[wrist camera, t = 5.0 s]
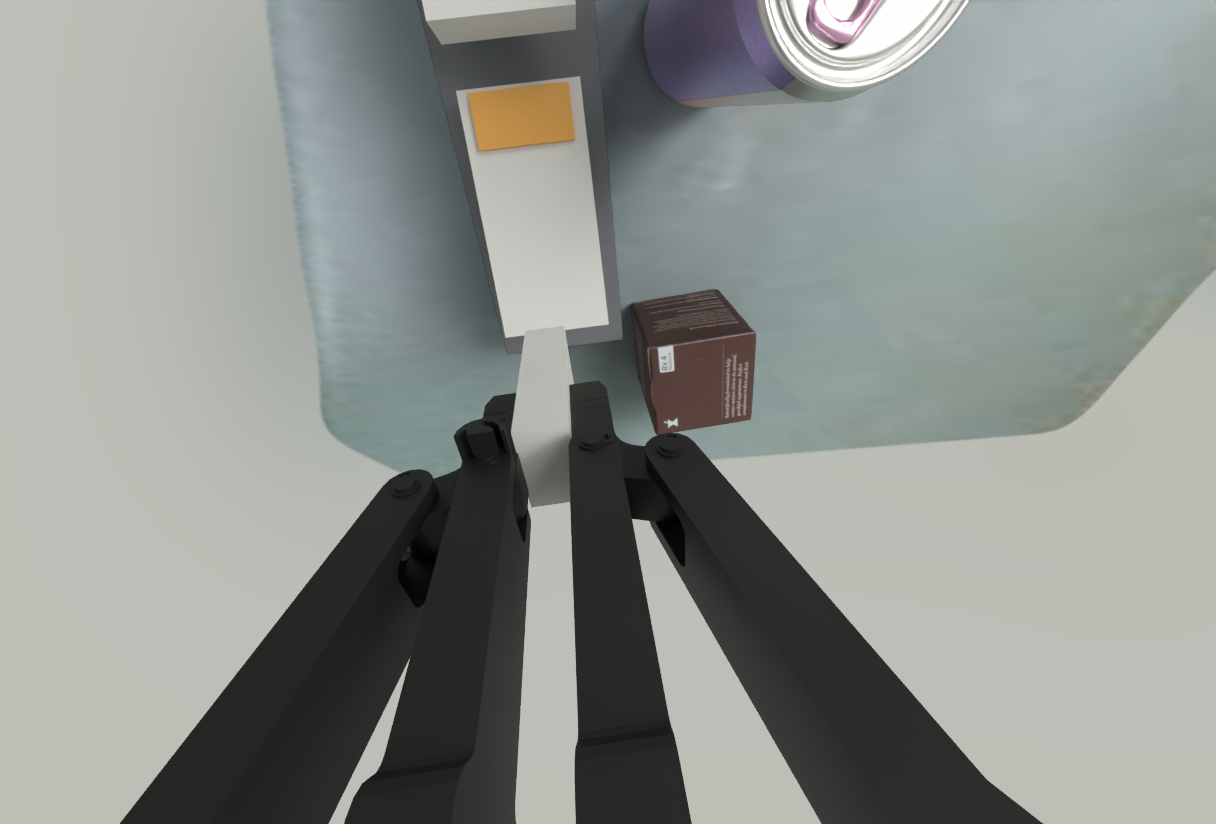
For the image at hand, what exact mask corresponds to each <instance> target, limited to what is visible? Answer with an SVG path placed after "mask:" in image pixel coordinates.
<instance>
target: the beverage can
mask: <svg viewBox="0 0 1216 824" xmlns="http://www.w3.org/2000/svg"><path fill="white" fill-rule="evenodd" d="M969 1H970V0H650V1H649V4H648V7H647V11H646V16H645V23H644V48H645V54H646V59H647V63H648V66H649V69H650V71H651V74H652V76H653V78H654V80H655V81H656V83H657V84H658V86H659V87H660V88H661V90H662V91H663V92H664V93H665V94H666V95H667V96H668V97H670V98H671V99H672V100H674V101H676V102H678V103H680V104H682V105H685V106H689V107H719V106H743V105H766V104H789V103H813V102H830V101H837V100H842V99H845V98H849V97H852V96H854V95H857V94H859V93H862V92H864V91H866V90H868V89H870V88H871V87H874V86H877V85H879V84H882V83H884V82H886V81H888V80H890V79H892V78H894V77H896V76H897V75H899V74H901V73H902V72H904V71H905V70H907V69H908V68H910V67H911V66H912V65H914V64H915V63H916V62H918V61H919V60H920V59H921V58H922V57H923V56H925V55H926V54H927V53H928V52H929V51H930V50H931V49H932V48H933V47H934V46H935V45H936V44H937V43H938V42H939V41H940V40H941V39H942V38H943V36H944V35H945V34H946V33H947V32H948V31H949V29H950V28H951V27H952V26H953V24H954V23H955V22H956V20H957V19H958V18H959V16H960V15H961V13H962V12H963V11H964V9H965V8H966V6H967V5H968V3H969Z"/></svg>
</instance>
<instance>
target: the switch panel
mask: <svg viewBox="0 0 1216 824" xmlns="http://www.w3.org/2000/svg"><path fill="white" fill-rule="evenodd" d="M417 2H418V6H419V10H420V14H421V18H422V22H423V25H424V29H425V33H426V37H427V41H428V45H429V49H430V53H431V57H432V61H433V65H434V69H435V73H436V77H437V81H438V85H439V88H440V92H441V96H442V100H443V104H444V108H445V112H446V116H447V120H448V124H449V128H450V132H451V136H452V140H453V144H454V147H455V151H456V155H457V159H458V163H459V167H460V171H461V175H462V179H463V183H464V187H465V191H466V195H467V199H468V203H469V206H470V210H471V214H472V218H473V222H474V226H475V230H476V234H477V238H478V242H479V246H480V250H481V254H482V258H483V262H484V265H485V269H486V273H487V277H488V281H489V285H490V289H491V293H492V297H493V301H494V305H495V309H496V313H497V317H498V321H499V324H500V328H501V332H502V336H503V340H504V344H505V348H506V352H507V354H514V353H522V350H523V343H524V336H525V335H523V336H516V337H508V338H505V333H504V328H503V323H502V318H501V313H500V308H499V303H498V298H497V293H496V288H495V283H494V278H493V273H492V268H491V263H490V258H489V253H488V248H487V243H486V238H485V233H484V228H483V223H482V218H481V213H480V208H479V203H478V198H477V193H476V188H475V183H474V178H473V173H472V168H471V163H470V158H469V153H468V148H467V144H466V139H465V134H464V129H463V124H462V119H461V114H460V109H459V104H458V99H457V94H456V91H459V90H467V89H476V88H484V87H493V86H501V85H510V84H518V83H527V82H535V81H544V80H552V79H561V78H569V77H578V76H580V81H581V90H582V99H583V107H584V116H585V124H586V133H587V141H588V150H589V158H590V167H591V176H592V184H593V193H594V201H595V210H596V218H597V227H598V235H599V244H600V253H601V261H602V270H603V278H604V287H605V295H606V304H607V313H608V321H609V324H608V325H600V326H592V327H585V328H577V329H569V330H565V333H566V339H567V345H568V346H575V345H583V344H591V343H598V342H606V341H613V340H621V339H623V331H622V319H621V308H620V296H619V284H618V272H617V261H616V249H615V237H614V226H613V214H612V202H611V191H610V179H609V167H608V156H607V144H606V132H605V121H604V109H603V97H602V86H601V74H600V62H599V51H598V39H597V27H596V15H595V4H594V0H575V2H576V29H574V30H566V31H557V32H548V33H540V34H531V35H522V36H514V37H505V38H496V39H487V40H479V41H470V42H461V43H453V44H444V45H442V44H441V43H440V41H439V40H438V38H437V37H436V35H435V34H434V32H433V31H432V29H431V28H430V26H429V25H428V23H427V22H426V18H425V13H424V8H423V4H422V0H417Z"/></svg>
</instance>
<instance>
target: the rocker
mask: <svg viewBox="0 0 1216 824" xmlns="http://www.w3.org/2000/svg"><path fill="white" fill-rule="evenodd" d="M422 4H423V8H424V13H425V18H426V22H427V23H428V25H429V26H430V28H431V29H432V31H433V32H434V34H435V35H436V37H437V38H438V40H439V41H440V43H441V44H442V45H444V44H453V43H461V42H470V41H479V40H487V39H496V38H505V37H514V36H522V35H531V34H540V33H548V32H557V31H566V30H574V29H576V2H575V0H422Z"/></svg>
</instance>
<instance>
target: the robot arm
mask: <svg viewBox="0 0 1216 824" xmlns="http://www.w3.org/2000/svg"><path fill="white" fill-rule="evenodd" d="M483 416H484V417H483V418H482V419H479V420H475V421H472V422H470V423H468V424H465V425H464V426H462V427H461V428H460V429H459V430H457V432H456V433H455V435H454V439H455V442H456V445H457V447H458V450H459V453H460V455H461V458H462V465H461V468H459V469H458V470H456V471H454V472H451V473H449V474H446V475H444V476H441V477H438V478H435V479H433V477H432V475H431V474H430V473H429V472H428V471H425V470H420V469H418V470H409V471H406V472H403V473H401V474H398V475H397V476H395V477H393V478H392V479H390V480H389V481H388V482H387V483H386V484H385V485H384V486H383V487H382V488H381V490H380V491H379V492H378V493H377V495H376V496H375V497H374V498H373V500H372V501H371V502H370V504H369V505H368V506H367V508H366V509H365V510H364V511H363V513H362V514H361V515H360V516H359V518H358V519H357V520H356V522H355V523H354V524H353V525H352V527H351V528H350V529H349V530H348V532H347V533H346V534H345V536H344V537H343V538H342V539H341V541H340V542H339V543H338V545H337V546H336V547H335V548H334V550H333V551H332V552H331V554H330V555H329V556H328V557H327V559H326V560H325V561H324V562H323V564H322V565H321V566H320V568H319V569H318V570H317V572H316V573H315V574H314V575H313V577H312V578H311V579H310V580H309V582H308V583H307V584H306V586H305V587H304V588H303V590H302V591H301V592H300V593H299V595H298V596H297V597H296V598H295V600H294V601H293V602H292V603H291V605H290V606H289V607H288V609H287V610H286V611H285V613H284V614H283V615H282V617H281V618H280V619H279V620H278V622H277V623H276V624H275V625H274V627H273V628H272V629H271V631H270V632H269V633H268V634H267V636H266V637H265V638H264V639H263V641H262V642H261V643H260V645H259V646H258V647H257V648H256V650H255V651H254V652H253V654H252V655H251V656H250V658H249V659H248V660H247V661H246V663H245V664H244V665H243V667H242V668H241V669H240V670H239V672H238V673H237V674H236V675H235V677H234V678H233V679H232V681H231V682H230V683H229V685H228V686H227V687H226V688H225V689H224V691H223V692H222V693H221V695H220V696H219V697H218V698H217V700H216V701H215V702H214V704H213V705H212V706H211V707H210V709H209V710H208V711H207V713H206V714H205V715H204V716H203V718H202V719H201V720H200V721H199V723H198V724H197V725H196V727H195V728H194V729H193V730H192V732H191V733H190V734H189V736H188V737H187V738H186V739H185V741H184V742H183V743H182V745H181V746H180V747H179V749H178V750H177V751H176V752H175V754H174V755H173V756H172V757H171V759H170V760H169V761H168V763H167V764H166V765H165V766H164V768H163V769H162V770H161V772H160V773H159V774H158V775H157V777H156V778H155V779H154V781H153V782H152V783H151V784H150V786H149V787H148V788H147V789H146V791H145V792H144V794H143V795H142V796H141V797H140V799H139V800H138V801H137V802H136V804H135V805H134V806H133V808H132V809H131V810H130V811H129V813H128V814H127V815H126V816H125V818H124V819H123V820H122V822H121V823H120V824H328V823H329V821H330V819H331V817H332V815H333V813H334V811H335V809H336V807H337V805H338V803H339V801H340V799H341V797H342V795H343V793H344V791H345V789H346V787H347V785H348V782H349V781H350V778H351V777H352V774H353V772H354V770H355V768H356V766H357V764H358V762H359V760H360V758H361V756H362V754H363V752H364V750H365V748H366V746H367V744H368V742H369V740H370V738H371V736H372V733H373V732H374V730H375V728H376V726H377V723H378V721H379V719H380V717H381V715H382V713H383V711H384V709H385V707H386V705H387V703H388V701H389V699H390V697H391V695H392V693H393V691H394V689H395V687H396V685H397V683H398V681H399V678H400V677H401V674H402V672H403V671H404V668H405V666H406V664H407V662H408V660H409V658H410V661H409V665H408V668H407V672H406V676H405V680H404V684H403V687H402V691H401V695H400V699H399V702H398V707H397V710H396V714H395V717H394V721H393V725H392V729H391V732H390V736H389V740H388V744H387V748H386V752H385V755H384V758H383V761H382V763H381V766H380V767H379V769H378V771H377V772H376V773H375V774H374V775H373V776H371V777H370V778H369V779H367V780H366V781H365V782H364V783H363V784H362V785H361V787H360V788H359V790H358V792H357V793H356V795H355V796H354V798H353V801H352V803H351V806H350V809H349V811H348V814H347V816H346V819H345V823H344V824H516V820H515V794H516V777H517V758H518V741H519V739H518V738H519V724H520V723H519V722H520V705H521V688H522V670H523V653H524V635H525V618H526V617H525V616H526V599H527V582H528V565H529V564H528V563H529V546H530V529H531V519H530V515H529V511H528V496H529V500H530V504H531V507H536V506H544V505H550V504H558V503H565V502H570V504H571V505H570V506H571V534H572V563H573V590H574V619H575V648H576V676H577V702H578V703H577V704H578V742H577V745H576V749H575V805H576V824H692V823H691V818H690V813H689V808H688V802H687V797H686V792H685V787H684V781H683V776H682V771H681V766H680V761H679V756H678V751H677V746H676V742H675V737H674V733H673V730H672V728H671V724H670V720H669V716H668V710H667V705H666V700H665V694H664V690H663V684H662V678H661V673H660V667H659V662H658V657H657V652H656V646H655V641H654V636H653V630H652V625H651V619H650V614H649V609H648V604H647V598H646V593H645V587H644V582H643V576H642V571H641V566H640V560H639V555H638V550H637V545H636V539H635V534H634V528H633V523H632V519H640V520H648V521H650V523H651V526H652V528H653V529H654V531H655V533H656V535H657V537H658V539H659V540H660V542H661V544H662V546H663V547H664V549H665V551H666V553H667V554H668V556H669V558H670V560H671V561H672V563H673V565H674V567H675V568H676V570H677V572H678V574H679V575H680V577H681V579H682V581H683V582H684V584H685V586H686V587H687V589H688V591H689V593H690V594H691V596H692V598H693V600H694V602H695V603H696V605H697V607H698V608H699V610H700V612H701V614H702V615H703V617H704V619H705V621H706V623H707V624H708V626H709V628H710V629H711V631H712V633H713V635H714V636H715V638H716V640H717V642H718V644H719V645H720V647H721V649H722V650H723V652H724V654H725V656H726V657H727V659H728V661H729V662H730V664H731V666H732V668H733V670H734V671H735V673H736V675H737V677H738V678H739V680H740V682H741V684H742V685H743V687H744V689H745V691H746V692H747V694H748V696H749V698H750V699H751V701H752V703H753V705H754V706H755V708H756V710H757V712H758V713H759V715H760V717H761V719H762V720H763V722H764V724H765V725H766V727H767V729H768V731H769V733H770V734H771V736H772V738H773V740H774V741H775V743H776V745H777V747H778V748H779V750H780V752H781V753H782V755H783V757H784V759H785V760H786V762H787V764H788V766H789V767H790V769H791V771H792V773H793V775H794V776H795V778H796V780H797V781H798V783H799V785H800V787H801V789H802V790H803V792H804V794H805V795H806V797H807V799H808V801H809V802H810V804H811V806H812V808H813V809H814V811H815V813H816V815H817V816H818V818H819V820H820V822H821V823H822V824H1043V823H1041V822H1040V821H1039V820H1037V819H1036V818H1035V817H1034V816H1032V815H1031V814H1030V813H1029V812H1027V811H1026V810H1025V809H1023V808H1022V807H1021V806H1020V805H1018V804H1017V803H1016V802H1014V801H1013V800H1012V799H1011V798H1009V797H1008V796H1007V795H1005V794H1004V793H1003V792H1002V791H1000V790H999V789H998V788H997V787H995V786H994V785H993V784H991V783H990V782H989V781H988V780H986V779H985V777H984V776H983V775H982V774H981V773H980V772H979V771H978V769H977V768H976V767H975V766H974V765H973V764H972V762H971V761H970V760H969V759H968V758H967V757H966V755H965V754H964V753H963V752H962V751H961V750H960V748H959V747H958V746H957V745H956V744H955V743H954V742H953V740H952V739H951V738H950V737H949V736H948V735H947V734H946V732H945V731H944V730H943V729H942V728H941V727H940V726H939V724H938V723H937V722H936V721H935V720H934V719H933V717H932V716H931V715H930V714H929V713H928V712H927V710H926V709H925V708H924V707H923V706H922V705H921V703H920V702H919V701H918V700H917V699H916V698H915V697H914V696H913V694H912V693H911V692H910V691H909V690H908V689H907V687H906V686H905V685H904V684H903V683H902V682H901V681H900V679H899V678H898V677H897V676H896V675H895V674H894V672H893V671H892V670H891V669H890V668H889V667H888V665H887V664H886V663H885V662H884V661H883V660H882V658H881V657H880V656H879V655H878V654H877V653H876V652H875V650H874V649H873V648H872V647H871V646H870V645H869V644H868V643H867V641H866V640H865V639H864V638H863V637H862V635H861V634H860V633H859V632H858V631H857V630H856V628H855V627H854V626H853V625H852V624H851V623H850V622H849V620H847V618H846V617H845V616H844V615H843V614H842V612H841V611H840V610H839V609H838V608H837V607H836V605H835V604H834V603H833V602H832V601H831V600H830V598H828V596H827V595H826V594H825V593H824V592H823V590H822V589H821V588H820V587H819V586H818V585H817V583H816V582H815V581H814V580H813V579H812V578H811V577H810V576H809V574H808V573H807V572H806V571H805V570H804V568H803V567H802V566H801V565H800V564H799V563H798V562H797V560H795V558H794V557H793V556H792V555H791V554H790V552H789V551H788V550H787V549H786V548H785V547H784V545H783V544H782V543H781V542H780V541H779V540H778V538H777V537H776V536H775V535H774V534H773V533H772V531H771V530H770V529H769V528H768V527H767V526H766V525H765V523H764V522H763V521H762V520H761V519H760V518H759V517H758V515H757V514H756V513H755V512H754V511H753V510H752V508H751V507H750V506H749V505H748V504H747V503H746V501H745V500H744V499H743V498H742V497H741V496H740V495H739V493H738V492H737V491H736V490H735V489H734V488H733V486H732V485H731V484H730V483H729V482H728V481H727V480H726V478H725V477H724V476H723V475H722V474H721V473H720V472H719V470H718V469H717V468H716V467H715V466H714V465H713V463H712V462H711V461H710V460H709V459H708V458H707V456H706V455H705V454H704V453H703V452H702V451H701V450H700V448H699V447H698V446H697V445H696V444H695V443H694V441H692V440H691V439H690V438H688V437H687V436H684V435H681V434H678V433H665V434H659V435H657V436H655V437H653V438H651V439H650V440H649V441H648V442H647V443H646V446H636V445H630V444H628V443H625V442H623V441H621V440H620V439H619V438H618V437H617V436H616V435H615V432H614V428H613V422H612V417H611V412H610V406H609V401H608V396H607V390H606V387H605V386H604V385H602V384H601V383H600V382H599V381H593V382H586V383H579V384H574V382H573V376H572V370H571V364H570V358H569V351H568V345H567V339H566V333H565V327H564V326H559V327H551V328H543V329H536V330H528V331H525V336H524V343H523V350H522V357H521V364H520V371H519V378H518V386H517V393H513V394H506V395H499V396H494V397H493V398H492V399H491V400H490V401H489V402H488V403H487V404H486V406H485V410H484V414H483ZM410 656H411V657H410Z"/></svg>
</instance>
